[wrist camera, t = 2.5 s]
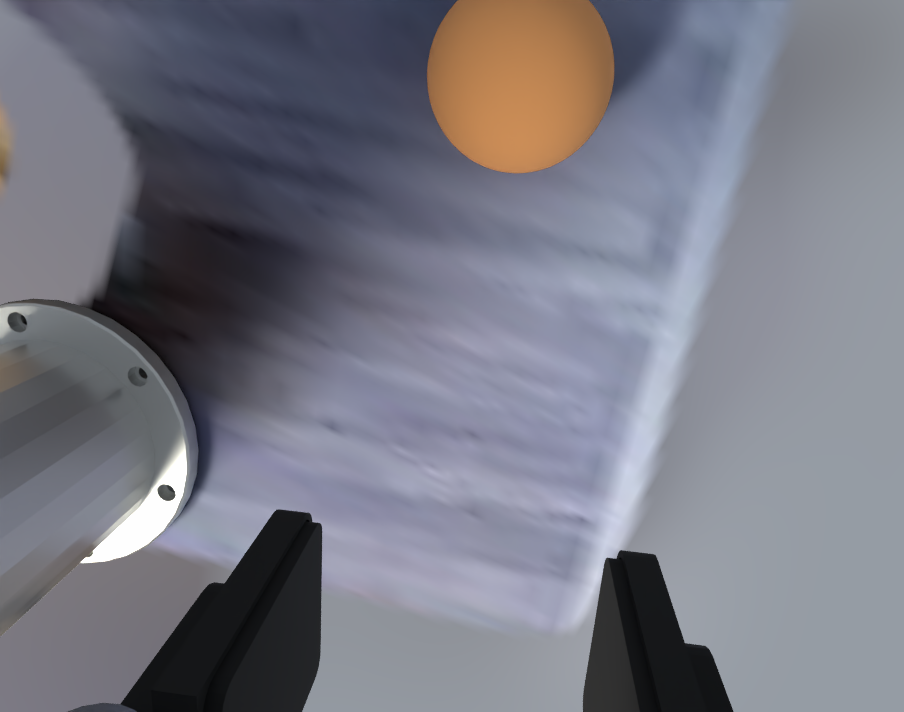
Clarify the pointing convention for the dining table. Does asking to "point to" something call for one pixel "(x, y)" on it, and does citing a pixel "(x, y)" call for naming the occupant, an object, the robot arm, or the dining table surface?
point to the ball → (520, 80)
